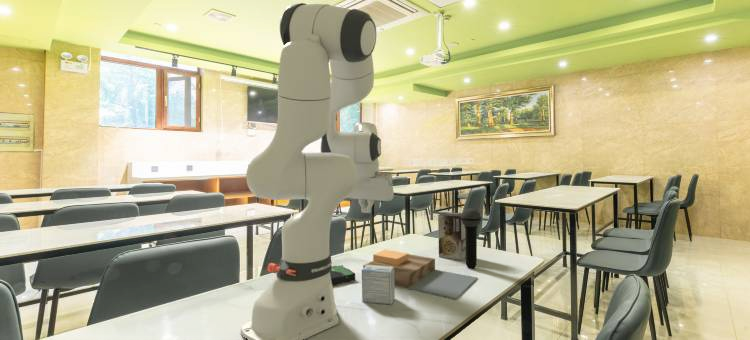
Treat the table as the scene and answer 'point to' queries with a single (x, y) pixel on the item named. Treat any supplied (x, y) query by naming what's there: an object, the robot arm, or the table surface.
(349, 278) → the disk drive
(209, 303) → the table surface
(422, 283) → the mat
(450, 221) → the coffee box
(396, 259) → the orange block
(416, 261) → the board
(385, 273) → the medicine box
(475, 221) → the microphone
